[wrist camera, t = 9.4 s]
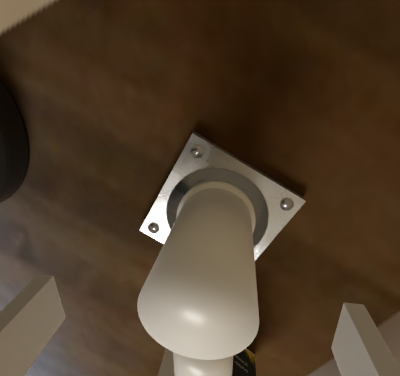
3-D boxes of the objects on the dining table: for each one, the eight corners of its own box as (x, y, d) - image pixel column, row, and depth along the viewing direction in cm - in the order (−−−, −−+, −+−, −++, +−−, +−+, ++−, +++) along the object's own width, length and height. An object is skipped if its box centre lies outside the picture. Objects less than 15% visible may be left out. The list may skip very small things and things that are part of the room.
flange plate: (142, 225, 23) (138, 230, 22) (194, 131, 19) (192, 133, 19) (235, 278, 24) (234, 285, 23) (303, 196, 20) (306, 201, 19)
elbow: (177, 178, 20) (123, 255, 11) (257, 181, 19) (272, 268, 10) (182, 273, 23) (143, 393, 14) (250, 280, 23) (256, 412, 13)
